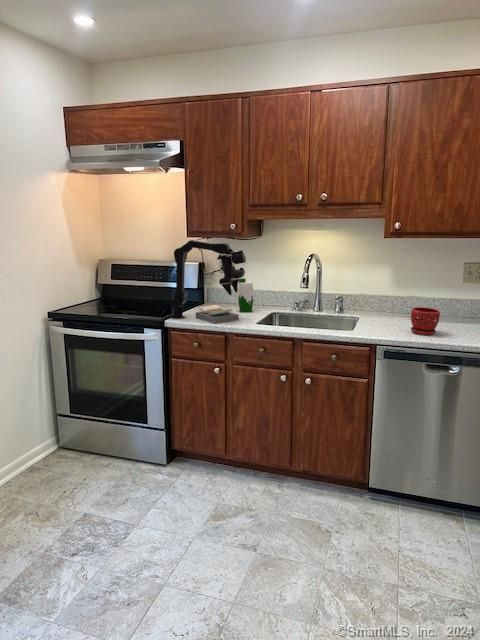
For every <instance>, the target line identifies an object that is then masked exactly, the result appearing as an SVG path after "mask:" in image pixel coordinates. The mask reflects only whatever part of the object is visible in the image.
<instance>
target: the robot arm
mask: <svg viewBox="0 0 480 640" xmlns="http://www.w3.org/2000/svg"><path fill="white" fill-rule="evenodd" d="M193 248H194V249H199V250H200V249H201V250H208V251H211V252H215V253H217V254H219V255H218V256H217V258H216V260H217V261H218V260H220V262H221V266H222V269H221V272H223V275H224V276H223V277H222V278H220V279H219V280H218V281H219V282H218V283H219V285H220V286H222V287H223V289H224V290H225V291H226V293H227V294H228V296H232V295H233V294H232V288H233V291H234V292H235V293H238V290H239V280H240V278H244V277H245V274H246V270H245V269H244V267H239V268H238V269H237V268H236V267H235V266H234V265H239V264H244V263H246V261H247V260H246V255H245V253H244V250H238V251H234V250H233V249H232V248H231V246H230V244H228V243H227V242H221V243H220V242H218V243H213V242H207V241H206V242H205V241H199V240H194V239H191V240H188V241H187V242H186V243H185V244H184V245H182V246H180V247H178V248H176V249H174V251H173V259H174V262H175V264H176V268H175V269H176V270H175V271H176V279H175V282H176V283H175V284H176V288H175V292H174V294H173V300H172V301H171V302H170V304H169V307H170V309H171V311H172V312H171V313H172V314H171V316H173V317H174V318H173V319H175V318H177V319H182V317H183V318H185V315H183V306H184V305H185V303H186V302H187V300H188V299H189V297H188V295H189V294H188V293H189V292H188V291H186V289H185V272H186V271H185V267H186V266H185V265H186V262H187V259H188V253H189V252H191V251H192V250H193ZM233 264H234V265H233Z"/></svg>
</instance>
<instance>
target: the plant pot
mask: <svg viewBox="0 0 480 640" xmlns="http://www.w3.org/2000/svg"><path fill="white" fill-rule="evenodd" d="M410 314H411V315H410V320H411V321H410V322H411V327H410V330H411V332H412V333H413V334H417V335H423V336H429V335H434V334H435V333H436V331H437V330H436V328H437V326H438V324H439V322H440V318H441V317H440V315H441V311H440V310H439V309H435V308H431V307H420V306H418V307H412V308H411V312H410Z"/></svg>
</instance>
